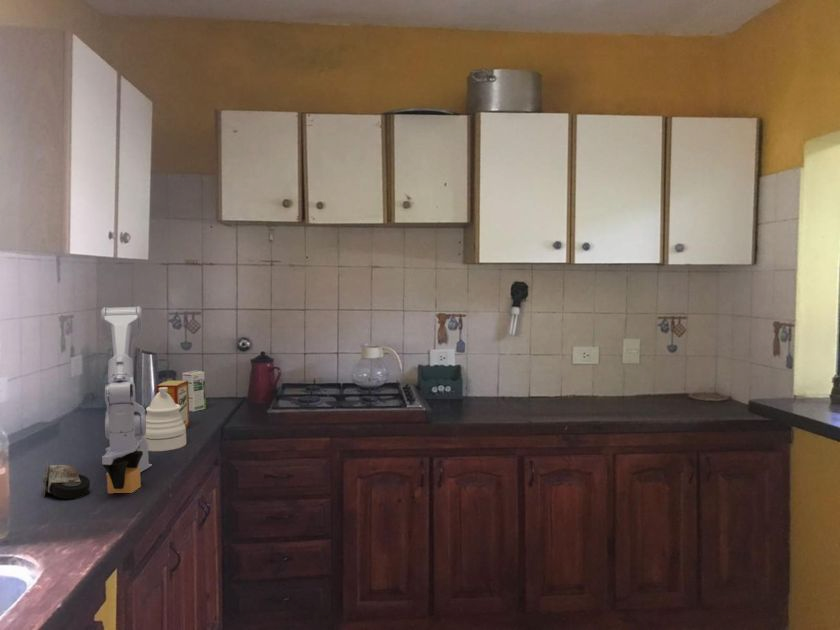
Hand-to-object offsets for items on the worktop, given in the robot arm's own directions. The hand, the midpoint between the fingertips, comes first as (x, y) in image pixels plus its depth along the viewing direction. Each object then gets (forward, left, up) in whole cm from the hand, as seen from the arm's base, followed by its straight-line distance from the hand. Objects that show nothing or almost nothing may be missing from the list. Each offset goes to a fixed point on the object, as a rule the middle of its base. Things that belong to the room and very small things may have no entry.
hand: (124, 484), depth 166 cm
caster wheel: (+3, -13, -2) cm, 14 cm away
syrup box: (-88, -22, -2) cm, 91 cm away
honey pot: (-40, -10, -2) cm, 41 cm away
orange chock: (0, 0, -1) cm, 1 cm away
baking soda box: (-59, -16, -2) cm, 61 cm away
